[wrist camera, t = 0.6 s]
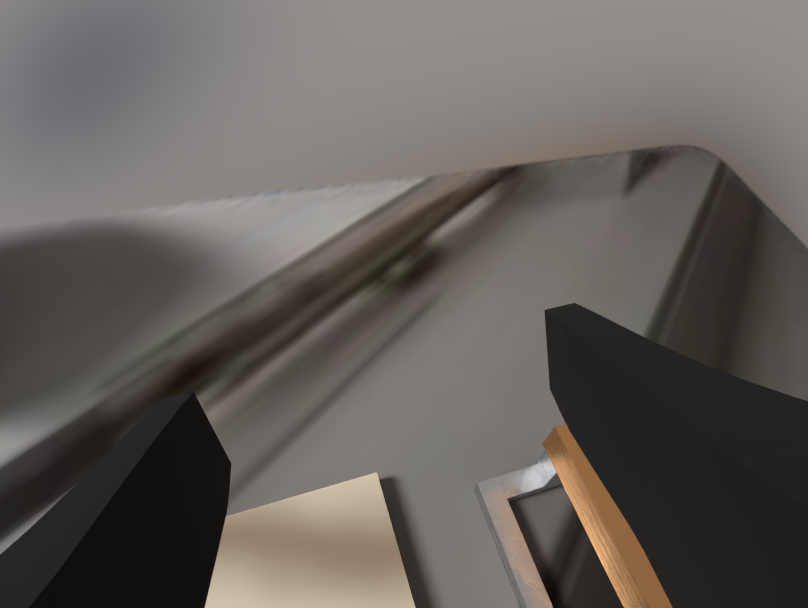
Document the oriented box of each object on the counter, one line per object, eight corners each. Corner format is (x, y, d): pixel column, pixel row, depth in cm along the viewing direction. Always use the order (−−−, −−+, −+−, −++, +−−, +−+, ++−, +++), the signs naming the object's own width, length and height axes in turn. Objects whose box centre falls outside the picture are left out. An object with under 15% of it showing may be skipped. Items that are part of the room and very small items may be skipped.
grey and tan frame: (709, 645, 24) (804, 634, 19) (561, 712, 22) (622, 719, 17) (598, 449, 29) (649, 398, 24) (473, 488, 28) (499, 443, 22)
